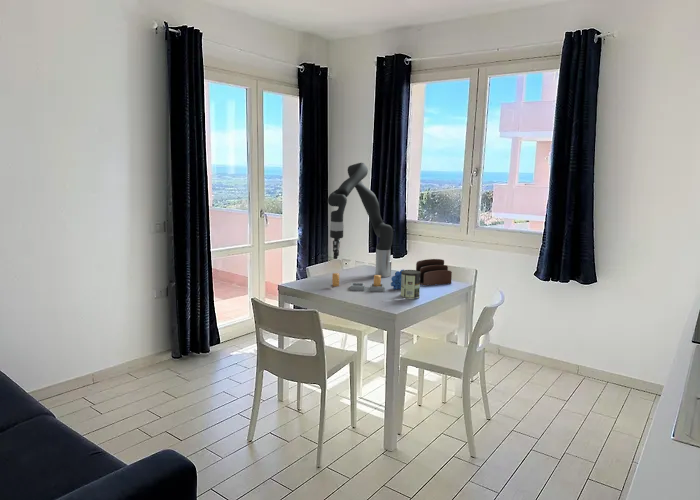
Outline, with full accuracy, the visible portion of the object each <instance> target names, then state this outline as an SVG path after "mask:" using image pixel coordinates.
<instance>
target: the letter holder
mask: <svg viewBox="0 0 700 500" xmlns="http://www.w3.org/2000/svg"><path fill="white" fill-rule="evenodd" d="M415 270H417V271H420V272H421V273H420V285H421V286H423V285H426V286H436V285H435V284H437V285H446V284H448V283H449V284H452V278H453V277H452V276H453V272H452V270H449V267H448V265H446V264H445V260H444V259H441V258H440V259H439V258H428V259H422V260H418V261H417V262H416V264H415Z"/></svg>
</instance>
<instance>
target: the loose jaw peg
mask: <svg viewBox="0 0 700 500" xmlns="http://www.w3.org/2000/svg"><path fill="white" fill-rule="evenodd" d="M331 278H332V281H331V282H332V283H331V284H332V285H331V286H332V289H333V288H335V287H340V273H339V272H333V273H332V277H331Z"/></svg>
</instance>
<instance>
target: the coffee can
mask: <svg viewBox="0 0 700 500" xmlns="http://www.w3.org/2000/svg"><path fill="white" fill-rule="evenodd" d="M402 270H403V271H401V270H400V271H401V273H402V275H401V289H400V296H401V297H402V298H403V299H404V298H406V300H415V299H414V298H418V299H419V298H420V287H421V286H420V285H421V284H420V273H421V272H420V271H417V270H416V269H402Z"/></svg>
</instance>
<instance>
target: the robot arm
mask: <svg viewBox="0 0 700 500" xmlns="http://www.w3.org/2000/svg"><path fill="white" fill-rule="evenodd" d="M368 172H369V169H368V166H367V164H366V163H364V162H358V163H355V164H351V165H349V166H348V167H347V174H348V178H346V179H345V180H344V181H343V182H342V183H341V184H340V185H339V187H338V188H336V190H334V191H332V192H331V193H330V194H329V196H328V198H327V203H328V205H329V206H331V207H335V208H336V207H338V208H337V210H333V211H331V212H330V225H329V226H330V227H329V238H331V239H333V240H332V252H333V257H332V258H333V259H334V260H338V257H339V256H340V248H341V247H340V246H341V240H340V239H343V238H344V213H345V209H346V205H347V202H348V200H347V199H348V197H349V195H350V194H351V192H352V191H353V189H356V192H357V194H358V196H359V198H360V201H361V202H362V205H363V207H364V209H365V212H366V214H367V215H368V218H369V219H370V222H371V226H372V228H373V231H374V234H375V235H376V236H377V238H379V240H378V241H379V242H378V243H377V244H376V247H375V270H374V271H375V274H374V275H381V278H387V277H390V276H391V277H392V261H391V251H392V250H391V249H392V245H393V238H394V230H393V227H392V226H391V225H390V224H386V223H385V222H384V220H383V219H382V215H381V211H380V203H379V201H378V198H377V196H376V194H375V192H373V191H372V190H371V189H370V188H369V187H367V186H366V185H365V184H364V183H363V181H362V180H364V179H365V178H366V177H367V176H368Z"/></svg>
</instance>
